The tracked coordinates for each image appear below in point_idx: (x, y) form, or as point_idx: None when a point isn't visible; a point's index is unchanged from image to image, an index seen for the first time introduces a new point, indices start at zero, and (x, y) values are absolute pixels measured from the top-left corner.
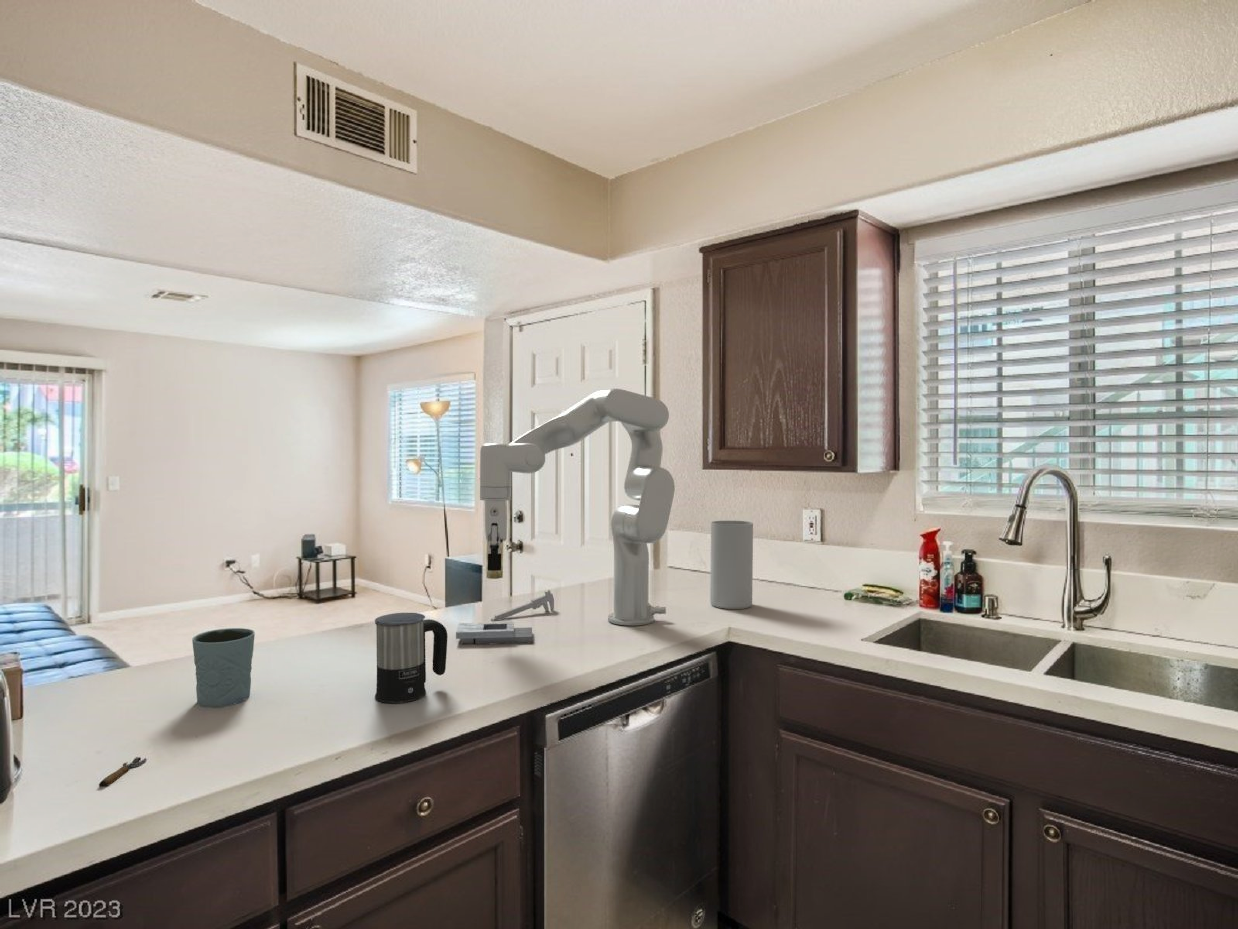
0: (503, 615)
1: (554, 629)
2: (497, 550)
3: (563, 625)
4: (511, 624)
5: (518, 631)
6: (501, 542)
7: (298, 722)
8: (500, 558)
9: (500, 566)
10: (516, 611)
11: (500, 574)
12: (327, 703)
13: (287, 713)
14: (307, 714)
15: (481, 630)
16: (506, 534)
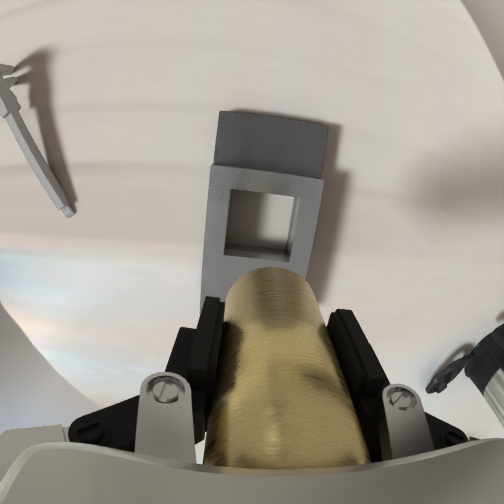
0: (55, 186)
1: (191, 49)
2: (435, 419)
3: (153, 27)
4: (243, 176)
5: (260, 155)
6: (360, 462)
7: (482, 407)
8: (371, 358)
9: (355, 323)
10: (36, 153)
11: (310, 292)
12: (460, 406)
13: (460, 421)
14: (472, 408)
15: (294, 266)
16: (477, 501)
